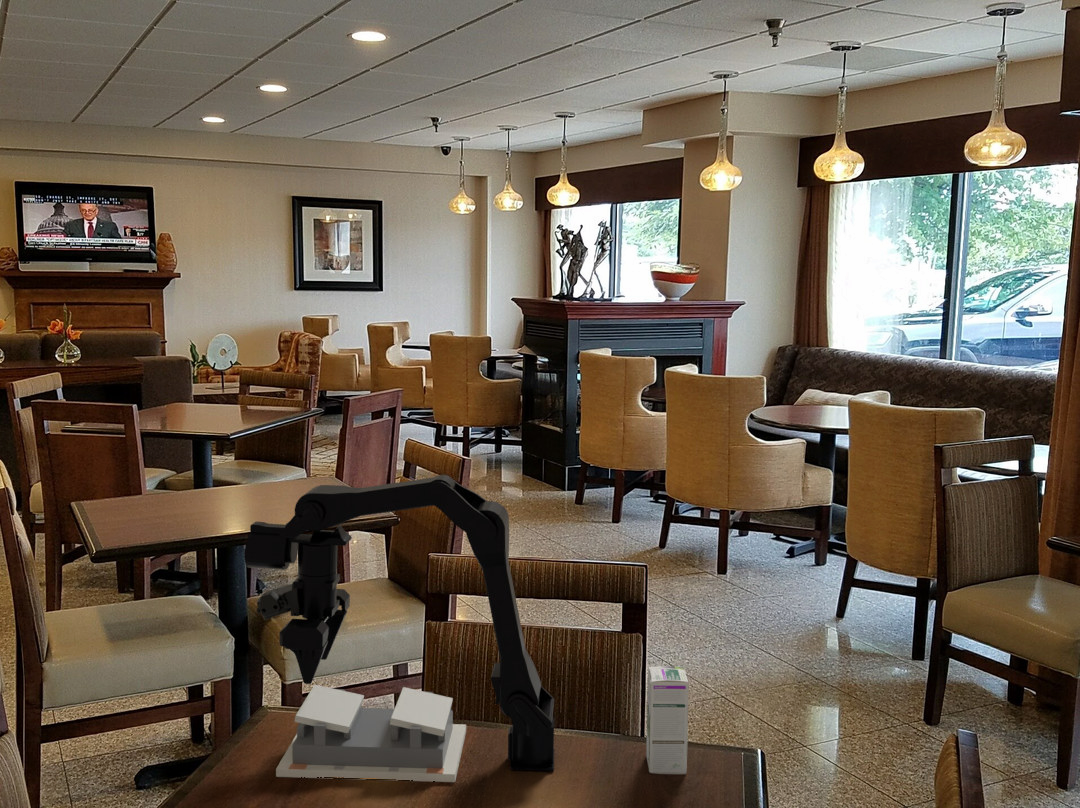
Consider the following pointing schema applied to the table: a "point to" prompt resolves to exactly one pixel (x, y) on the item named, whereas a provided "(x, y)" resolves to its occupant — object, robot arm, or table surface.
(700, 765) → the table surface
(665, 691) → the syrup box
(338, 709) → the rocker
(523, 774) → the table surface
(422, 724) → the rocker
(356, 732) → the box
